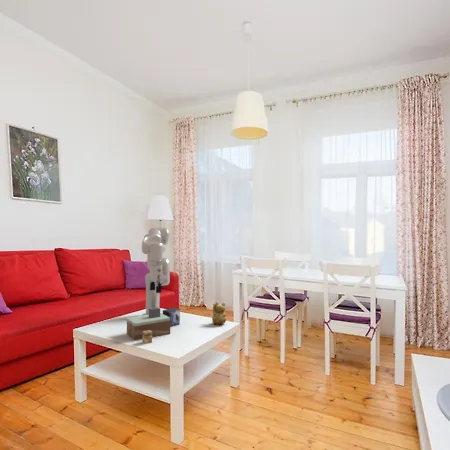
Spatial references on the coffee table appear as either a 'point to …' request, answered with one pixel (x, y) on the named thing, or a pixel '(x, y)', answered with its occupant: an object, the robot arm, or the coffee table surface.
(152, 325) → the open brown wooden box
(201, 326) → the coffee table surface
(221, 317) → the decorative figurine
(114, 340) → the coffee table surface
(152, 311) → the lid
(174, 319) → the small box
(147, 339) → the wooden block
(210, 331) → the coffee table surface
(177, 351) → the coffee table surface
